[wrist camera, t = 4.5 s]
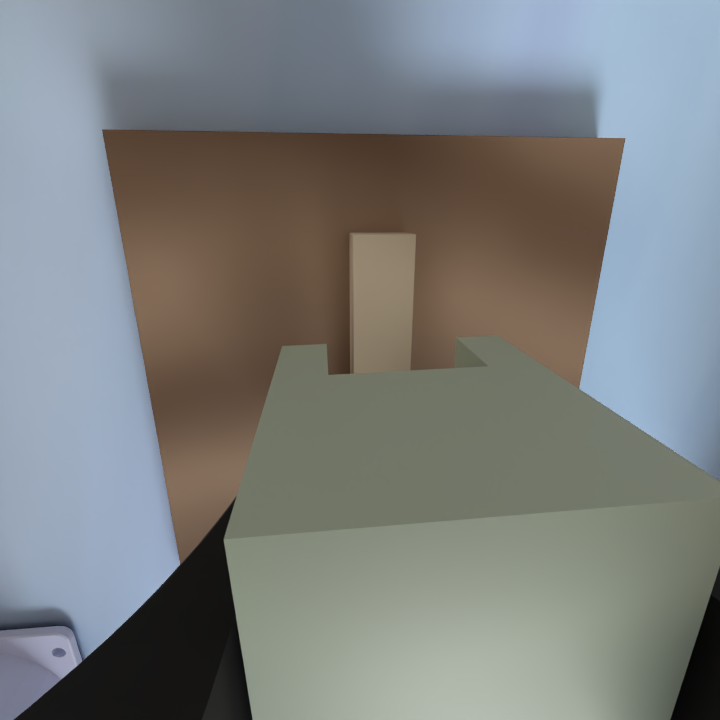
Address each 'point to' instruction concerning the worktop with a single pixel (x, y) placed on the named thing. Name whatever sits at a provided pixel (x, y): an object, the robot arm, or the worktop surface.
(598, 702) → the saddle block
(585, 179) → the cleat board
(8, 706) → the robot arm
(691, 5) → the worktop surface
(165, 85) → the worktop surface
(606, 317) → the worktop surface
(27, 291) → the worktop surface
